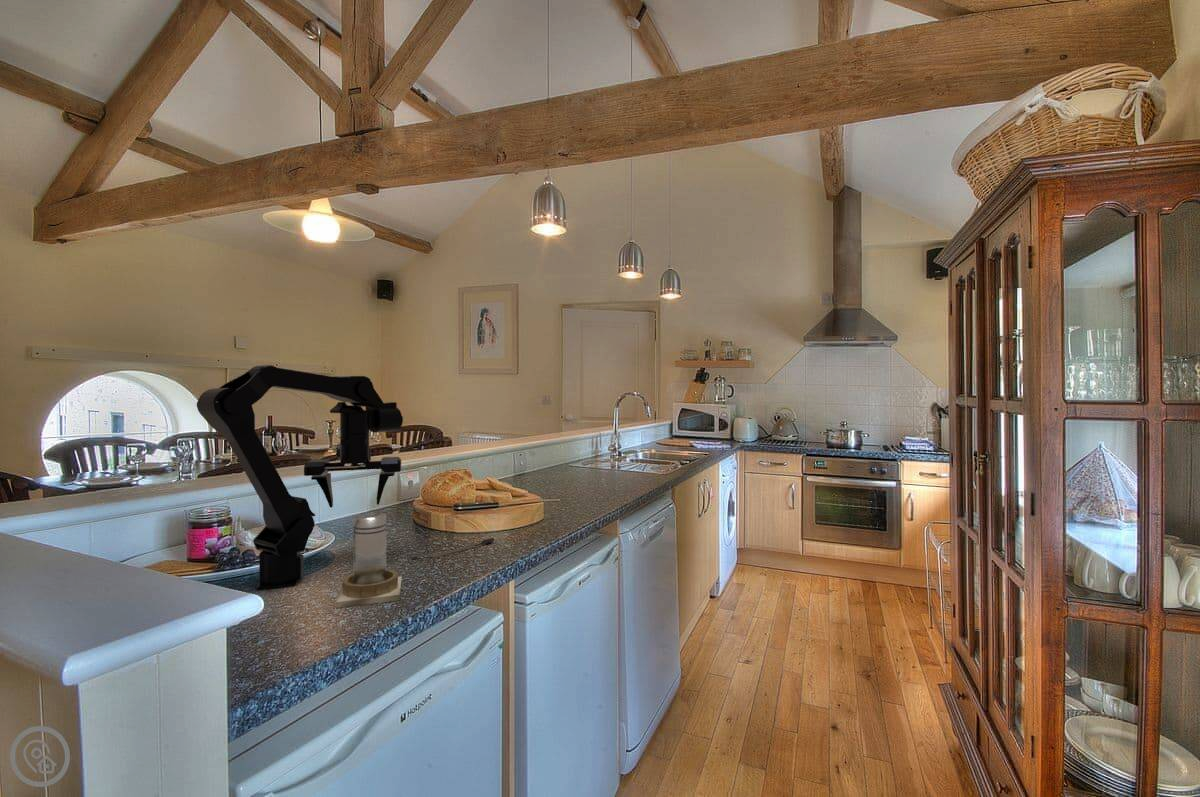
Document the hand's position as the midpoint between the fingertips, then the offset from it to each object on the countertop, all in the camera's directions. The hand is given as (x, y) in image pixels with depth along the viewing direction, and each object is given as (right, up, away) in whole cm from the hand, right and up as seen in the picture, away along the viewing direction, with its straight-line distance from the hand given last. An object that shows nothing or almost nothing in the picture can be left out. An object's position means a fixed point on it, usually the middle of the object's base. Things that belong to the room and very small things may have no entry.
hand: (355, 505), depth 114 cm
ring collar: (+12, -12, -19) cm, 26 cm away
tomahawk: (+21, -13, +6) cm, 25 cm away
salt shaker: (+12, -11, -19) cm, 25 cm away
